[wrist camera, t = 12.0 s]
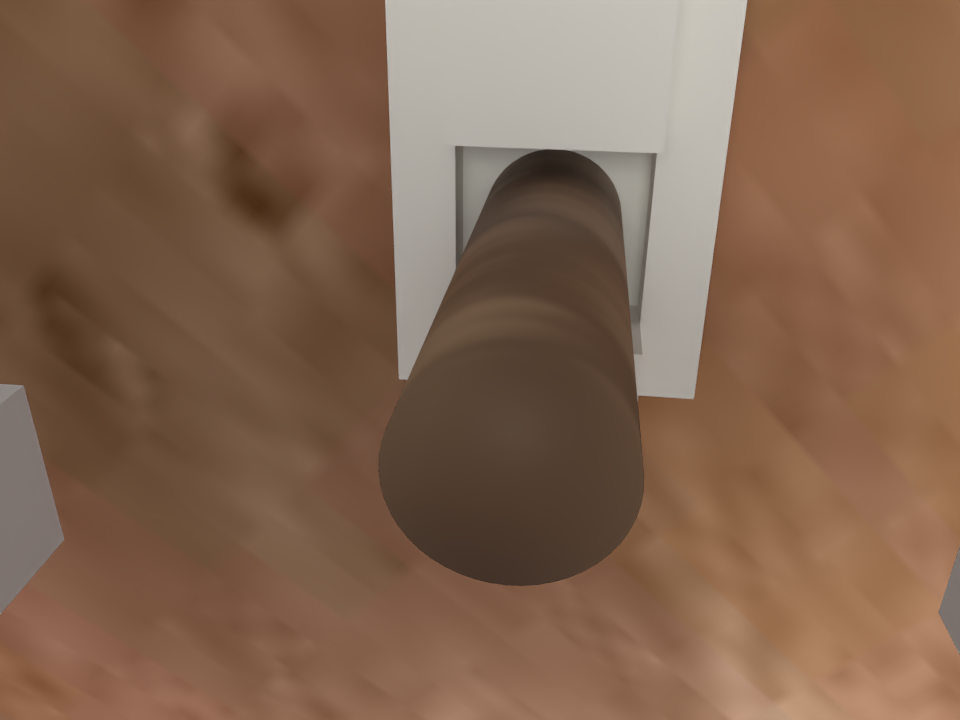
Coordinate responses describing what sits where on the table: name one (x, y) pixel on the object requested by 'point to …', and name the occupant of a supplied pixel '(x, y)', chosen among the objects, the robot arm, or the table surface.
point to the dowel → (525, 388)
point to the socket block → (566, 144)
